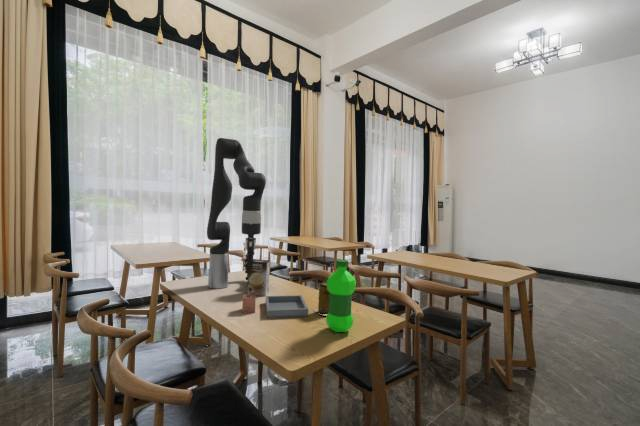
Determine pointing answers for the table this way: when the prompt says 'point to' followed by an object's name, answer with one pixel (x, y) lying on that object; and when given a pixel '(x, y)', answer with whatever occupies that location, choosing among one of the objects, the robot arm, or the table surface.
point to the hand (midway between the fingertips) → (250, 263)
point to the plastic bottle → (340, 298)
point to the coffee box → (259, 277)
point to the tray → (286, 306)
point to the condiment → (323, 299)
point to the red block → (249, 303)
